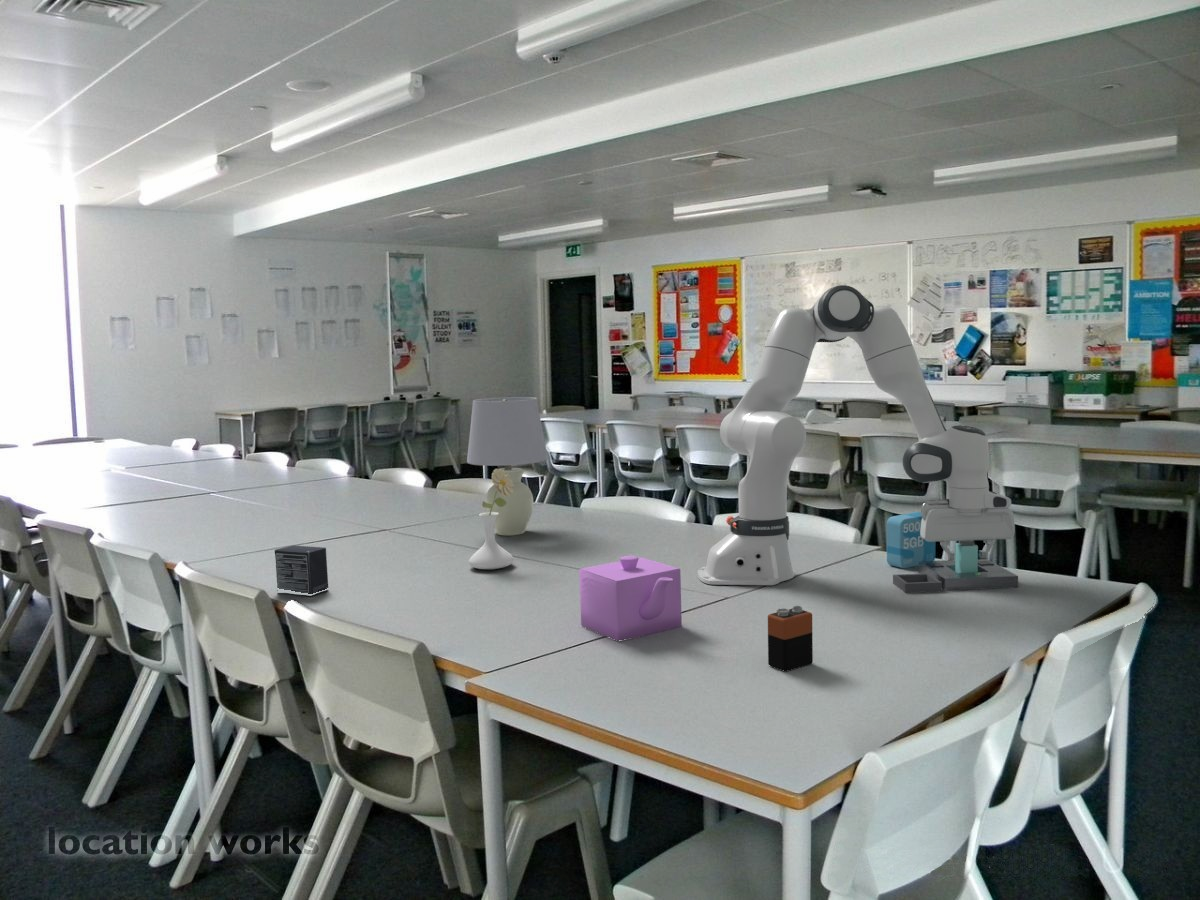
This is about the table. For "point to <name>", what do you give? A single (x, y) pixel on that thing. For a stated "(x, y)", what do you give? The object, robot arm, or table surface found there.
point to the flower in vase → (491, 551)
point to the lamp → (507, 453)
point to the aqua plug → (966, 557)
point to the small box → (301, 569)
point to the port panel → (969, 575)
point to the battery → (790, 638)
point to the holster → (917, 583)
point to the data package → (907, 542)
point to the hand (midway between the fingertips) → (966, 559)
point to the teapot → (630, 597)
